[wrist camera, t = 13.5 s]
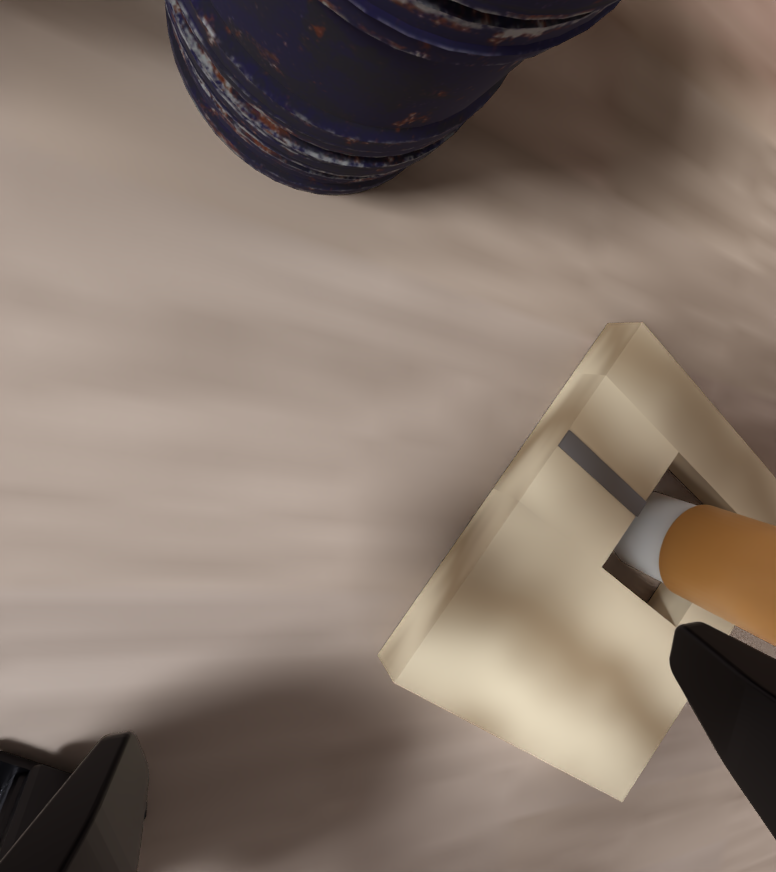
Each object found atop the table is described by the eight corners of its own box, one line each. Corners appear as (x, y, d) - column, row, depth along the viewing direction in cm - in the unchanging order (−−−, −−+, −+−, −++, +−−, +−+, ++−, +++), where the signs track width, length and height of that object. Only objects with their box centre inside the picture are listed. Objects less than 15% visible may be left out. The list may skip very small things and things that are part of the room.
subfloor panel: (594, 772, 29) (623, 803, 27) (377, 655, 23) (395, 684, 21) (768, 503, 30) (808, 514, 28) (607, 323, 24) (644, 321, 22)
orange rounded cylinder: (667, 567, 28) (1001, 727, 16) (602, 571, 26) (922, 750, 15) (682, 487, 27) (1040, 595, 16) (617, 486, 26) (963, 605, 14)
